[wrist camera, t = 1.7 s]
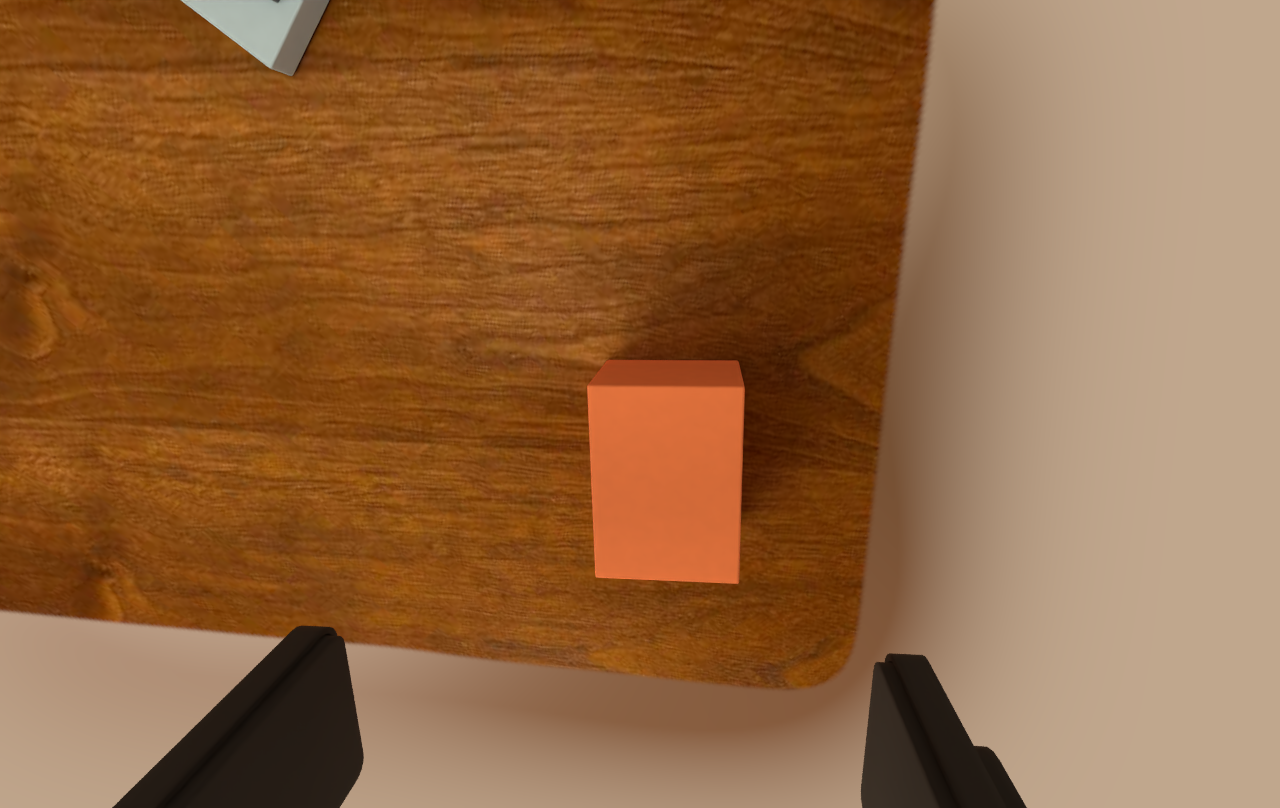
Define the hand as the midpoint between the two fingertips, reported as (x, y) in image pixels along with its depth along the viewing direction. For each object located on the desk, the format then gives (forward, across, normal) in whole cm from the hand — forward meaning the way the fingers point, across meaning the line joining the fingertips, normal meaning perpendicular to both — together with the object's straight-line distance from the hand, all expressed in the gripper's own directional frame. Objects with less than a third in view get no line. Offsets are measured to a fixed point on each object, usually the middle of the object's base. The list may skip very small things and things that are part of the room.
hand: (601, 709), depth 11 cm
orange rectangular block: (+14, -1, 0) cm, 14 cm away
